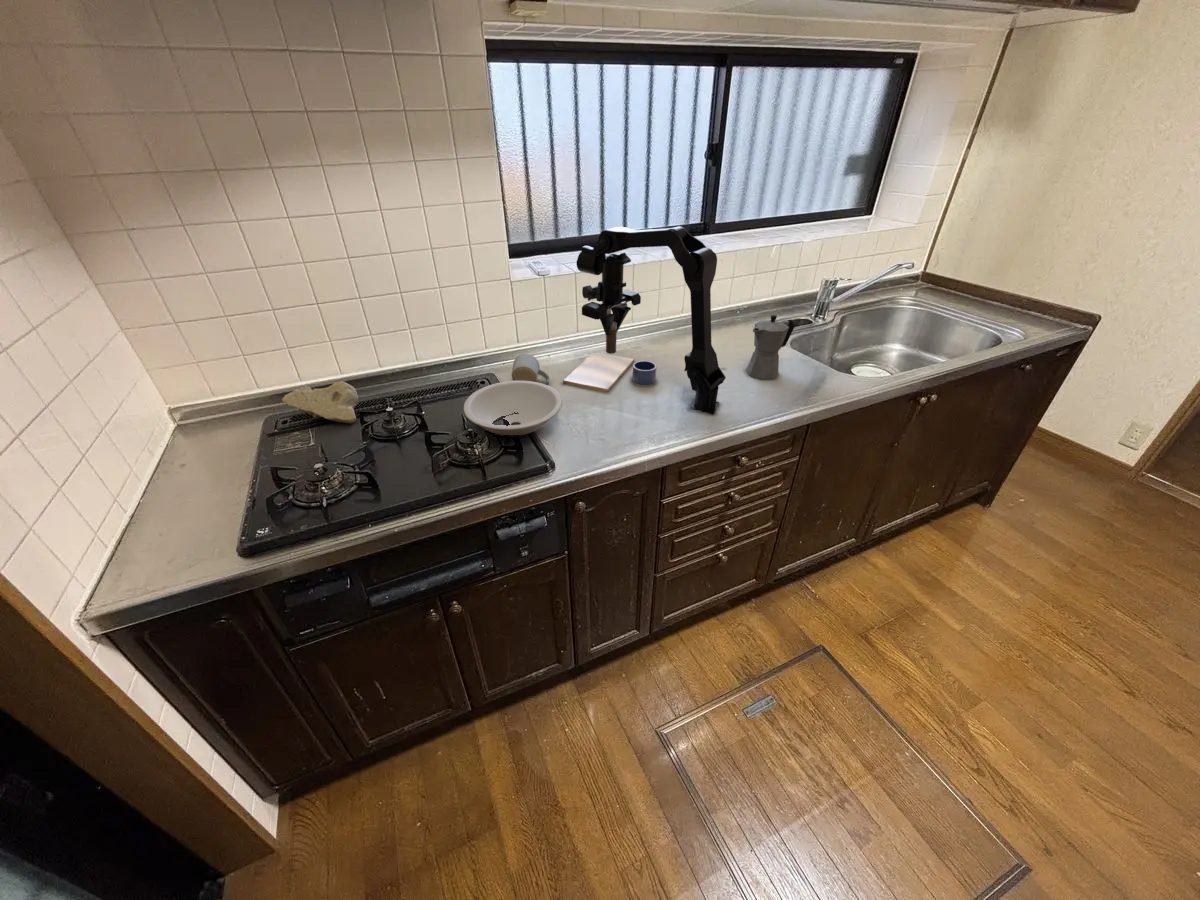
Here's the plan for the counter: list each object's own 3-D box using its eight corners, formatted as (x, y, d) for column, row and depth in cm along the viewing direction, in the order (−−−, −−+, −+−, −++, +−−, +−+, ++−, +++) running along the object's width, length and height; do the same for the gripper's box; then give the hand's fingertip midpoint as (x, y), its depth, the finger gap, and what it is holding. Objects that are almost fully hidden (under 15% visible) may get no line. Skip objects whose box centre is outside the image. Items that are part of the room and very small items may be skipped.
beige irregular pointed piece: (376, 417, 134) (343, 373, 134) (370, 409, 127) (335, 363, 127) (324, 450, 129) (289, 404, 129) (314, 444, 122) (278, 396, 122)
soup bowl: (582, 425, 126) (582, 403, 123) (504, 465, 113) (501, 440, 109) (525, 393, 141) (523, 371, 137) (449, 424, 127) (444, 401, 123)
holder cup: (651, 388, 143) (652, 372, 140) (628, 383, 145) (629, 368, 143) (658, 378, 148) (659, 362, 145) (636, 374, 151) (637, 359, 148)
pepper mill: (613, 354, 144) (614, 323, 139) (604, 352, 145) (604, 321, 140) (617, 350, 147) (618, 319, 141) (608, 348, 148) (608, 317, 142)
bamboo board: (607, 393, 141) (607, 389, 140) (563, 384, 145) (563, 380, 145) (634, 362, 157) (634, 358, 157) (593, 355, 162) (593, 351, 161)
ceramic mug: (512, 390, 142) (509, 365, 138) (514, 377, 149) (512, 353, 144) (549, 389, 143) (548, 365, 138) (550, 376, 149) (549, 352, 145)
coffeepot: (755, 384, 146) (767, 324, 135) (734, 371, 152) (744, 313, 142) (795, 373, 151) (809, 315, 141) (773, 361, 158) (785, 305, 148)
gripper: (613, 265, 144) (612, 318, 153) (566, 279, 133) (568, 335, 142) (643, 273, 138) (640, 327, 147) (597, 288, 127) (596, 346, 135)
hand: (611, 333), depth 143 cm, fingers closed on pepper mill, 3 cm apart
